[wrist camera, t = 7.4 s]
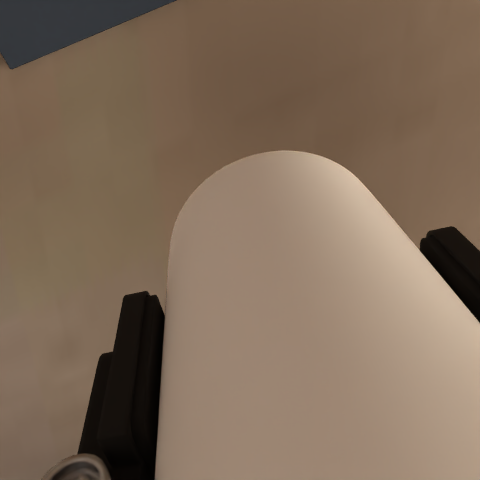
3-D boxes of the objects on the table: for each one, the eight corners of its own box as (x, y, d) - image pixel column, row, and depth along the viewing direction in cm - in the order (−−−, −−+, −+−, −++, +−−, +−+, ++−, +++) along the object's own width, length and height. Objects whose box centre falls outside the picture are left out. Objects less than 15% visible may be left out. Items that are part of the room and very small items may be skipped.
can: (188, 335, 16) (194, 1032, 5) (149, 161, 12) (-46, 1163, 2) (370, 307, 16) (709, 928, 6) (381, 128, 12) (1307, 884, 2)
